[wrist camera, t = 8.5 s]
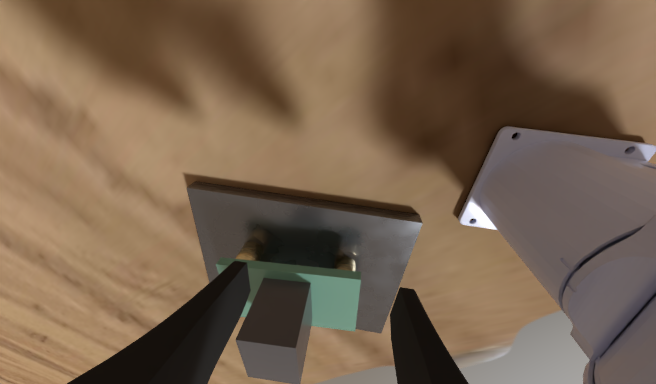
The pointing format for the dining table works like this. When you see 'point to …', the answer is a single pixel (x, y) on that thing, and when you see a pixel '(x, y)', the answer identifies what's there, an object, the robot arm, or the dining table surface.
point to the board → (324, 289)
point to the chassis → (308, 239)
